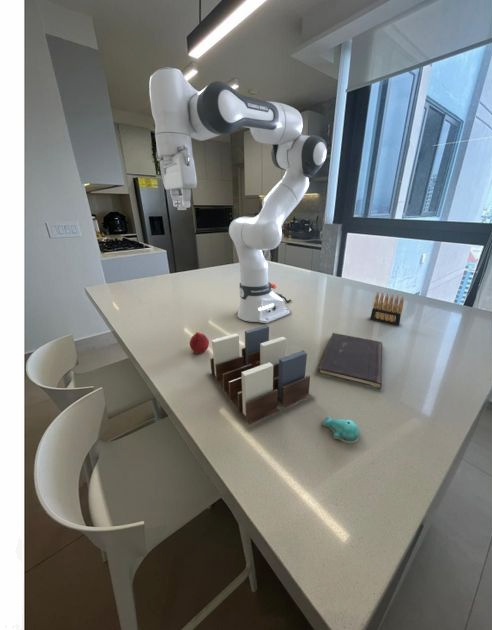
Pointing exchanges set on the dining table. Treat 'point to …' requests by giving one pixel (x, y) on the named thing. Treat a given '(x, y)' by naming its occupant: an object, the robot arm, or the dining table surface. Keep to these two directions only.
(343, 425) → the whale figurine
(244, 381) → the cream book
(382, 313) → the ammunition clip
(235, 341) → the cream book
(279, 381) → the grey book
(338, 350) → the hardcover book
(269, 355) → the cream book
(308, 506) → the dining table surface
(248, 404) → the book rack
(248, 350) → the grey book
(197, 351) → the onion
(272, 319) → the robot arm
